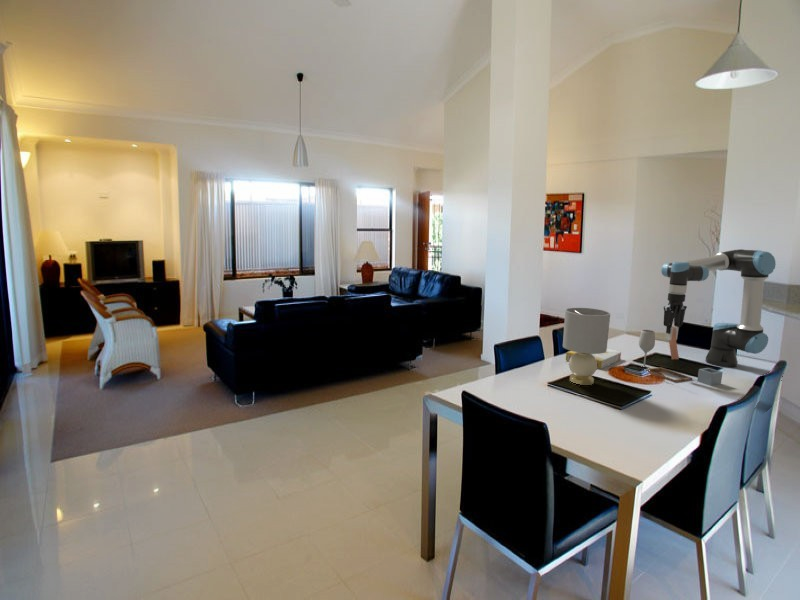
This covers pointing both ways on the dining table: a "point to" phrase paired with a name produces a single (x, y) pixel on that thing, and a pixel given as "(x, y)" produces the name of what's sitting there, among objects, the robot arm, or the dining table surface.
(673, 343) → the tan rounded bar
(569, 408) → the dining table surface
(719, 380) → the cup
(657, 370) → the tray
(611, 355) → the cereal box
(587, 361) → the lamp
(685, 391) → the dining table surface
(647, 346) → the wineglass
